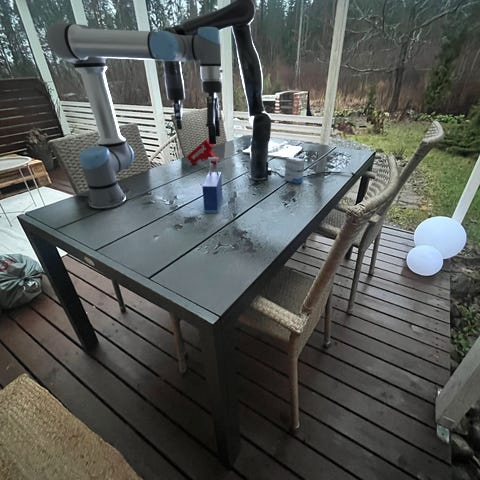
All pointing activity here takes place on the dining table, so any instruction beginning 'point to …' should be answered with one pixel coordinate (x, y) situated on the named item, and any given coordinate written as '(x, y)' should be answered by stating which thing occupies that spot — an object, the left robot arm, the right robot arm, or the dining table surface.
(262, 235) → the dining table surface
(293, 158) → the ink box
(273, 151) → the relief map
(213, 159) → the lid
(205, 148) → the toy gun
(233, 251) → the dining table surface
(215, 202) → the chest
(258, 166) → the right robot arm
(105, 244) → the dining table surface
